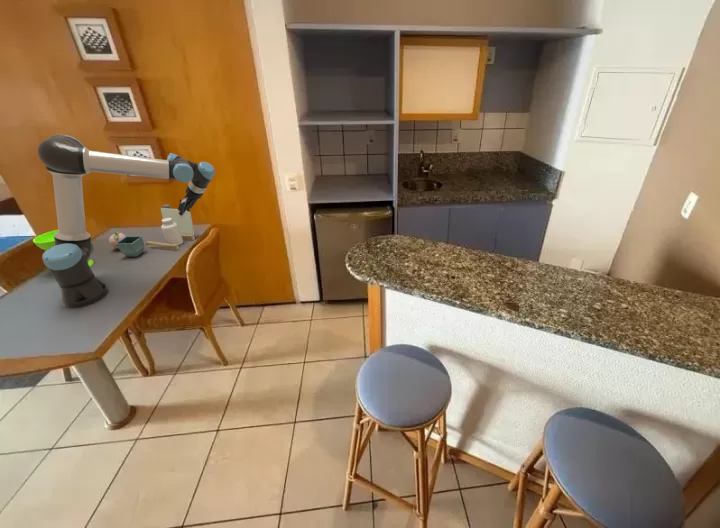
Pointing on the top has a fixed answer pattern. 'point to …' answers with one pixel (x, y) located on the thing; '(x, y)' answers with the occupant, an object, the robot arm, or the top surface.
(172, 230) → the pill bottle
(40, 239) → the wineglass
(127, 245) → the flower pot
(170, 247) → the tan wooden pieces
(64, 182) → the robot arm
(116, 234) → the decorative fruit
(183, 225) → the panel
